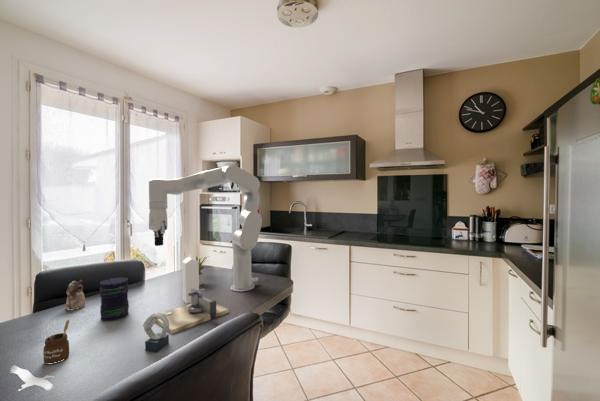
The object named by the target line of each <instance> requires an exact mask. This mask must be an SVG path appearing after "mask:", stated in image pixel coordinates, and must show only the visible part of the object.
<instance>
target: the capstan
mask: <svg viewBox="0 0 600 401" xmlns="http://www.w3.org/2000/svg"><path fill="white" fill-rule="evenodd" d="M205 292H206V289H205V288H199V290H196V289H191V292H189V293H188V296H191V303H190V304H191V305H190V306H189V307H188V312H190V313H201V312H206V313H207V314H209V315H210V320H215V319H217V318H218V317H217V316H216V304H217V300H215V299H214V300H213V299H212V300H211V299H210V298H207V297H205V296H203V293H205Z"/></svg>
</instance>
